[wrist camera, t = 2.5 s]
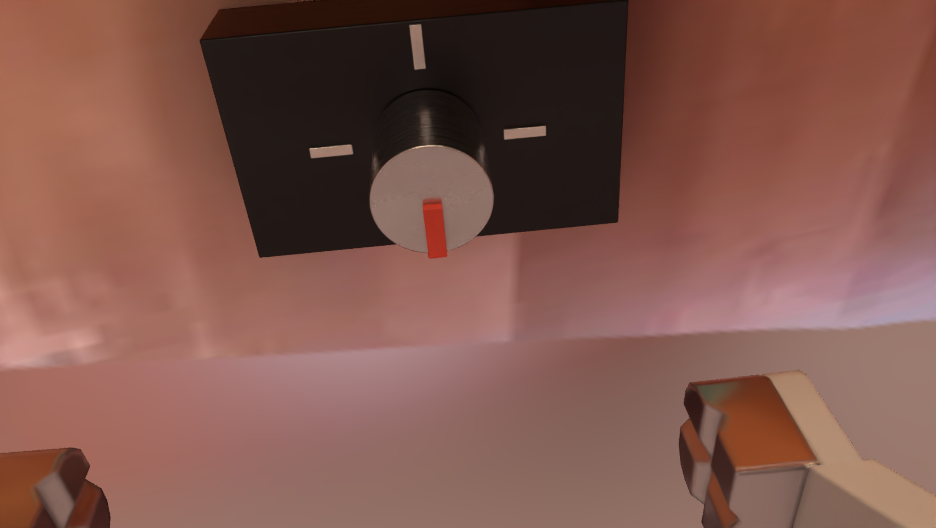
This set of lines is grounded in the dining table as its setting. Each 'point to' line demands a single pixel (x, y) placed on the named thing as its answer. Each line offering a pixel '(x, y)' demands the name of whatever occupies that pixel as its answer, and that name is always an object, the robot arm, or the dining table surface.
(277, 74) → the black dial base
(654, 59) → the dining table surface
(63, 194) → the dining table surface
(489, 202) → the rotary knob
